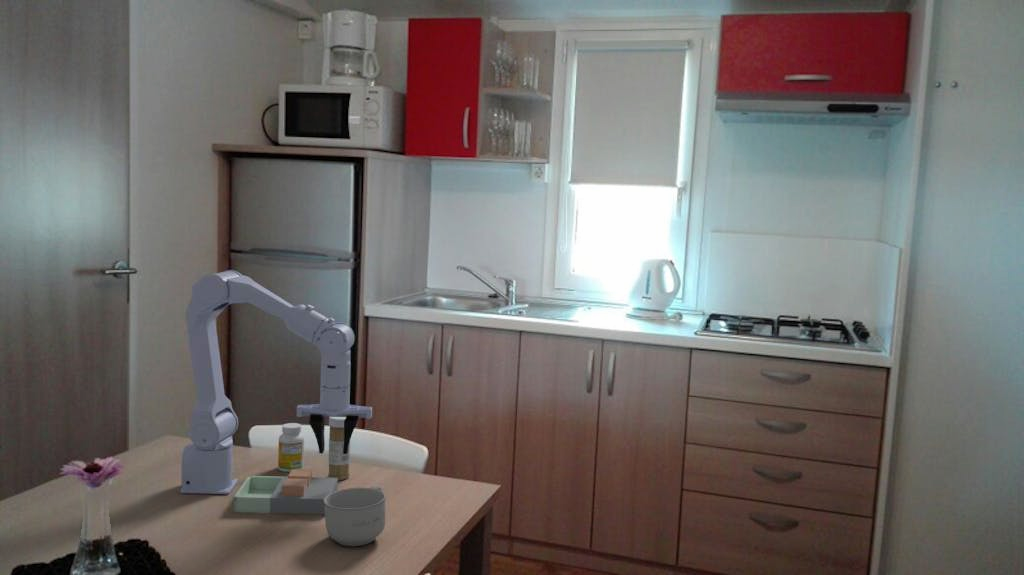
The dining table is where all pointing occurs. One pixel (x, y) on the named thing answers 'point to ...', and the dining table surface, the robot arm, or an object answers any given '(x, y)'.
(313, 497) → the slate board
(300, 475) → the tile
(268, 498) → the tray
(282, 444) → the supplement bottle
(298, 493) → the tile
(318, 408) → the robot arm
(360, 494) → the teacup
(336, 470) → the sprinkles bottle
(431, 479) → the dining table surface
